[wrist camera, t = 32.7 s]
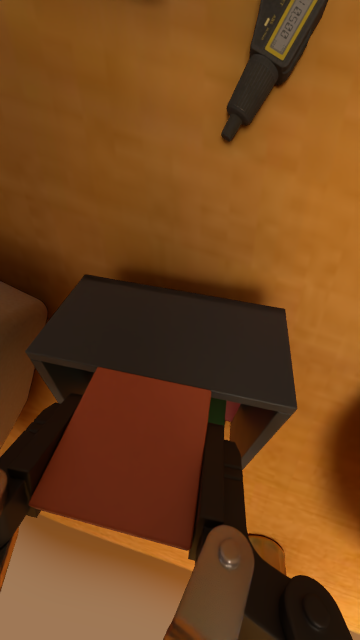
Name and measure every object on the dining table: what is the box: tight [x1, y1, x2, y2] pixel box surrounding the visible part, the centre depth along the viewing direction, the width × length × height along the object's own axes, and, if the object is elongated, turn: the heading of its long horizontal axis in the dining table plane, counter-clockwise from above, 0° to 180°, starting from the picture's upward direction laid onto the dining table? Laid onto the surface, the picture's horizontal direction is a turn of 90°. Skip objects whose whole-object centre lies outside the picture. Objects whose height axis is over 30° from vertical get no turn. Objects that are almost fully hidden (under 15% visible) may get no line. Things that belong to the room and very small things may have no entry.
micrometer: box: [221, 0, 328, 142], centre depth 13 cm, size 12×2×5 cm
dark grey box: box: [25, 275, 297, 551], centre depth 15 cm, size 12×12×11 cm
